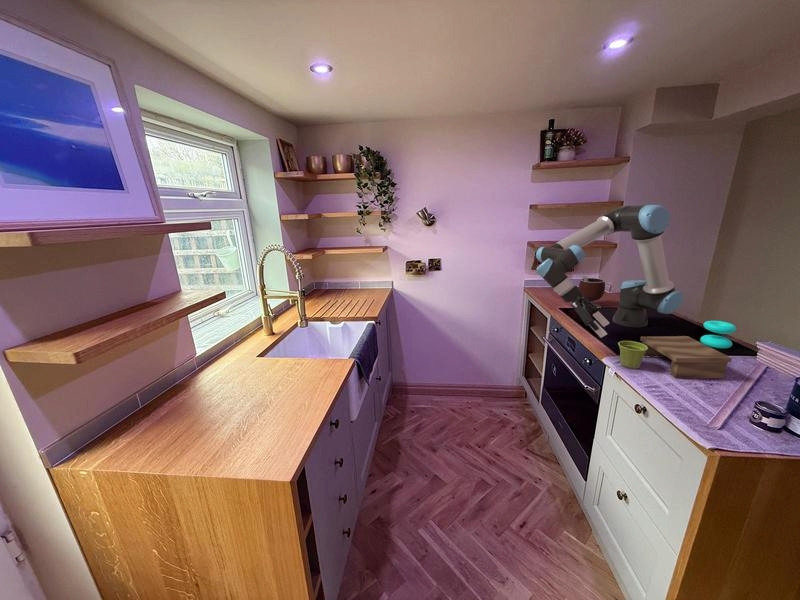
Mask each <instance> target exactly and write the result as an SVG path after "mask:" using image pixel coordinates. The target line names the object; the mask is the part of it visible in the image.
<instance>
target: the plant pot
mask: <svg viewBox="0 0 800 600" xmlns="http://www.w3.org/2000/svg"><path fill="white" fill-rule="evenodd" d="M617 345H618V348H619V356H620V359H619V361H620V365H621V366H622V367H624V368H629V369H638V368H640V366H641V363H642V360H643V358H644V356H643V355H644V353H645V351H646V350H647V349H648V347H647V346H646V345H644V344H642V342H637V341H632V340H621V341H619V342H617Z"/></svg>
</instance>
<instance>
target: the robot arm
mask: <svg viewBox="0 0 800 600" xmlns="http://www.w3.org/2000/svg"><path fill="white" fill-rule="evenodd" d="M670 221H671V214H670V212H669V209H667V208H666V207H665V206H663V205H660V204H642V205H641V204H639V205H625V206H624V205H623V206H620V207H618V208H615V209H613V210H611V211H609V212H607V213H605V214H603V215H601V216H599V217H598V218H597V219H596V221H595V222H592V223H590V224H589V225H587V226H585V227H583V228H581V229H579V230H578V231H575V232H574V233H572V234H570V235H568V236H567V237H565V238H562V239H561V240H559V241H557V242H556V243H553V244H552V245H549V246H540V247H539V248H538V249H537V251H536V253H535V256H536V257H535V258H536V259H537V261H538V262H540V264H539V265H538V266H537V267H536V270H535V271H536V272H537V273H538V275H539V276H540V277H541V278H542V279H543V281H545V282H546V283H547V285H549V286H550V287H551V288H552V290H553V293H557V295H558V296H560V298H561V300H563V301H564V302H565V303H570V302H571V307H572V308H573V309H574V311H575V312H576V314H578V316H579V318H580V319H581V320H582V321H583V324H584V325H585V326H586V327H588V326H589V327H590V328H591V329H592V330H593V331H594V333H596V335H598V337H599V338H603V337H605V336H607V335H608V333H607V331H606V330H605V329H604V328H602V327H606V326H608V325H609V324H610V322H609V320H608V319H607V318H606V317H605V316H604V315H602V313H601V312H600V311H599V310H600V309H601V308H600V309H599V308H597V307H596V306H595V305H593V304H592V303H591V302H590V301H588V300H587V299H586V298H585V297H584V296H583V295H582V294H581V293H582V291H581V290H580V289H579V286H577V285H575V282H574V281H573V280H572V279H571V278H570V277H569V276H568V275H567V273H568V272H569V271H571V269H573V268H574V267H576V266H577V265H578V264H580V262H581V261H583V260H584V259H585V257H586V253H585V251H584V249H583V247H585V246H587V245H589V244H590V243H592V242H595V241H596V240H598V239H600V238H602V237H603V236H610V235H612V234H615V233H619V232H620V233H621V232H628V233H630V236H631V239H632V240H633V241H635V242H636V244H637V247H638V252H639V253H638V254H639V257H640V262H641V267H642V273H643V278H644V280H642V279H641V280H639V279H637V280H636V279H634V280H631V279H630V280H624V281H623V282H622V284H621V287H620V293H619V301H618V306H617V307H618V308H617V310H616V311H615V313H614V314H613V317H612V322H613V323H614V324H617V325H619V326H623V327H628V328H629V327H630V328H644V327H647V326H648V322H649V320H648V316H647V312H646V311H647V310H650V311H654V312H656V313H657V312H658V313H660V314H665V315H669V314H672V313H673V314H674V312H676V311H677V310H678V309H679V308H681V305H682V304H683V301H684V294H683V293H682V292H681V291H680V290H676V287H675V284H674V282H673V281H671V280H670V279H669V272H668V269H667V268H668V267H667V261H666V255H665V252H664V251H665V250H664V245H663V244H664V243H663V240H662V236H663V235H664V234H665V231H666V230H667V228H668V227H669V225H670V224H669V223H670ZM591 314H592V316H591ZM592 317H594V318H595V320H594V319H593V318H592Z"/></svg>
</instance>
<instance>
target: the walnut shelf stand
mask: <svg viewBox="0 0 800 600" xmlns="http://www.w3.org/2000/svg"><path fill="white" fill-rule="evenodd" d="M640 342H641V343H642V344H644V345H646V346H647V347H648V349H647V350H646V351H645V353H644V356H666V357H665V358H668V359H670V360H671V364H670V369H669V373H668V374H669V375H670V376H672V377H673V378H675V379H724V378H725V375H726V371H727V366H728V363H731V362H732V360H733V357H731V356H729V355H727V354H725V353H723V352H721V351H719V350H717V349H715V348H714V347H710V346H707V345H705V344H703V343H702V342H701V341H698V340H696V339H694V338H692V337H690V336H688V335H687V336H686V335H681V336H680V335H677V336H673V335H671V336H667V335H666V336H663V335H662V336H660V335H659V336H640ZM644 356H643V357H644Z"/></svg>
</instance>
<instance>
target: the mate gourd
mask: <svg viewBox="0 0 800 600" xmlns="http://www.w3.org/2000/svg"><path fill="white" fill-rule="evenodd" d="M579 275H580V276H582V278H581V279H580V281H579V284H578V288H579V289H580V290H581V291H582V293H581V294H582V295H583V296H584V297H585V298H586V299H587V300H588V301H590V302H591V303H592V304H593V305H595V306H596V307H597V308H600V309H601V308H602V306H601V305H600V304H598V303H595V302H596V301H599V300H600V299H602V297H604V294H605V289H606V283H605V282H606V281H605V279H602V278H597V277H587V276H586V275H584V274H583V273H581V272H580V273H579Z"/></svg>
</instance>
